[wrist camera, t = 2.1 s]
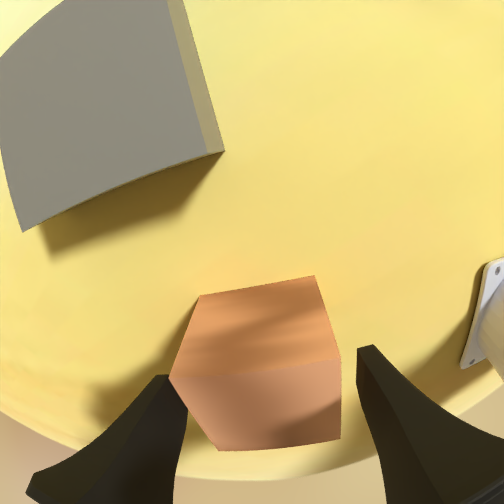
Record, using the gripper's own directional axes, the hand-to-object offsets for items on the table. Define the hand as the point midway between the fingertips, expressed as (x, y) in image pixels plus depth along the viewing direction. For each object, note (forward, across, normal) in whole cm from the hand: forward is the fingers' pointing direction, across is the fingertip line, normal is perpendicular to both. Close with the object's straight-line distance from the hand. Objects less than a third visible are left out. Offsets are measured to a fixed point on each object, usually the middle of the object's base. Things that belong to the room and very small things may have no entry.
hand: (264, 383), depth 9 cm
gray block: (+4, +4, -12) cm, 13 cm away
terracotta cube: (+3, 0, 0) cm, 3 cm away
